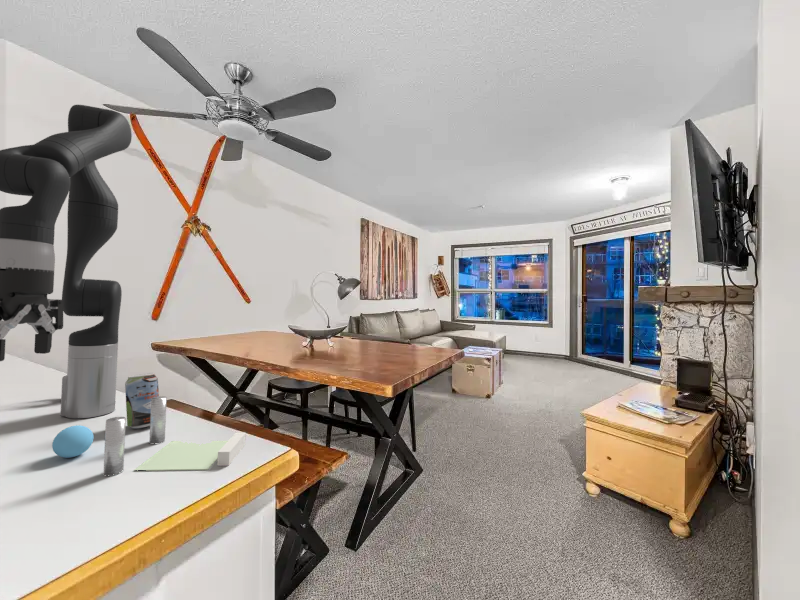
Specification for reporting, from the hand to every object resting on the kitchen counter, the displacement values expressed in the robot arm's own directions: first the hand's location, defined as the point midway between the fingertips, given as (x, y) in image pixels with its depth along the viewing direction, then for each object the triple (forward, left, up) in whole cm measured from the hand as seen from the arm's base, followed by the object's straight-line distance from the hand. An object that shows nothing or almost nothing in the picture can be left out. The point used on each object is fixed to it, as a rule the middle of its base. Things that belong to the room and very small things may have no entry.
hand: (20, 357), depth 61 cm
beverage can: (+12, +16, -18) cm, 27 cm away
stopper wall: (+37, +1, -18) cm, 41 cm away
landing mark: (+29, +1, -18) cm, 34 cm away
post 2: (+20, +7, -18) cm, 28 cm away
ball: (+9, +1, -15) cm, 18 cm away
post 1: (+20, -6, -18) cm, 28 cm away
